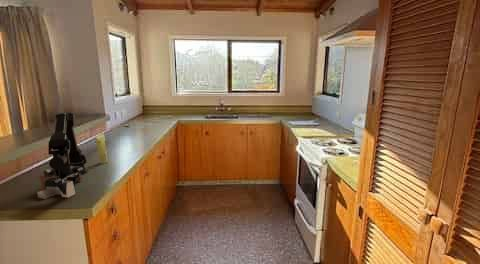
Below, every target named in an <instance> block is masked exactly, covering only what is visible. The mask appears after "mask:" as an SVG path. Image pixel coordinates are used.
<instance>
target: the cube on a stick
mask: <svg viewBox="0 0 480 264" xmlns="http://www.w3.org/2000/svg"><path fill="white" fill-rule="evenodd" d="M64 182H67V190H66V195H63V193H62V192H61V191H60V189H59V188H58V187H46V189H47V188H49V189H54V190H55V195H61V197H62V198H71V197H72V196H74V195H76V190H75V187H74V185H73V181H68V180H66V181H64Z"/></svg>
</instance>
